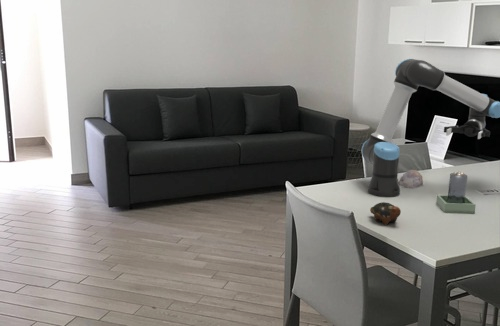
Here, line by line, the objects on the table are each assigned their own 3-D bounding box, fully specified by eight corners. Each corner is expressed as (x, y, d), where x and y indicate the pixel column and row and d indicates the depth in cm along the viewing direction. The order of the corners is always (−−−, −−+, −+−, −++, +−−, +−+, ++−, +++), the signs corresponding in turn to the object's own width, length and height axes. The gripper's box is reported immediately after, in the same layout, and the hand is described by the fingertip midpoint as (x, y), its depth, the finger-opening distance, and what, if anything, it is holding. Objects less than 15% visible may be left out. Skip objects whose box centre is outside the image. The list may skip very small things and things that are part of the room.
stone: (405, 198, 265) (421, 187, 260) (392, 183, 267) (408, 171, 262) (413, 190, 279) (428, 179, 274) (401, 175, 281) (416, 164, 276)
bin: (444, 212, 227) (445, 203, 226) (436, 203, 239) (437, 194, 238) (474, 213, 226) (475, 204, 225) (464, 204, 238) (465, 195, 237)
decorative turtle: (392, 229, 206) (392, 209, 204) (362, 221, 218) (362, 202, 216) (408, 223, 211) (408, 204, 210) (378, 215, 224) (378, 197, 222)
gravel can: (449, 208, 229) (452, 173, 225) (444, 203, 236) (448, 169, 232) (465, 209, 229) (470, 174, 225) (461, 203, 235) (465, 169, 231)
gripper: (499, 138, 253) (491, 145, 235) (444, 132, 266) (433, 139, 248) (501, 122, 251) (493, 128, 234) (446, 117, 264) (435, 123, 247)
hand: (462, 134), depth 241 cm, fingers open, 13 cm apart
